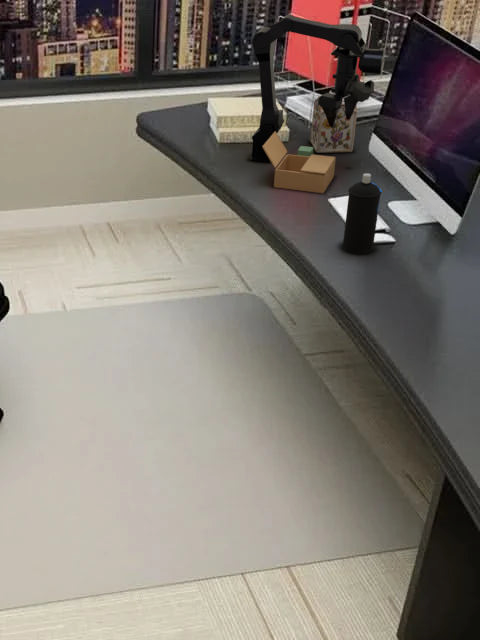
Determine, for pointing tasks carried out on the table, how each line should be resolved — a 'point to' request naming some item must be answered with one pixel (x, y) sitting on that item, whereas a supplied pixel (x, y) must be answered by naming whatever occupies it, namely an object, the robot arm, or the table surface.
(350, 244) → the aerosol can
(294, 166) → the carton
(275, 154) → the flap
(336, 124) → the decorative jar
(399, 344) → the table surface
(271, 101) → the robot arm
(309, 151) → the block
